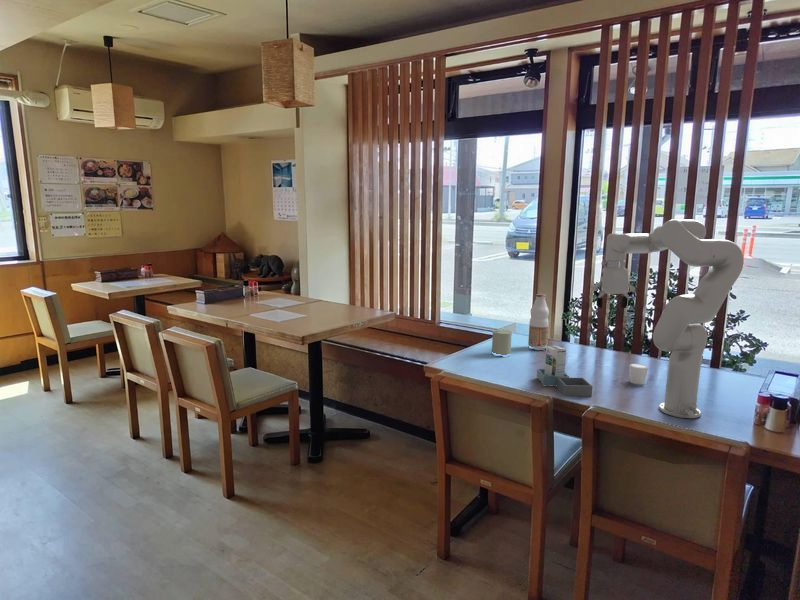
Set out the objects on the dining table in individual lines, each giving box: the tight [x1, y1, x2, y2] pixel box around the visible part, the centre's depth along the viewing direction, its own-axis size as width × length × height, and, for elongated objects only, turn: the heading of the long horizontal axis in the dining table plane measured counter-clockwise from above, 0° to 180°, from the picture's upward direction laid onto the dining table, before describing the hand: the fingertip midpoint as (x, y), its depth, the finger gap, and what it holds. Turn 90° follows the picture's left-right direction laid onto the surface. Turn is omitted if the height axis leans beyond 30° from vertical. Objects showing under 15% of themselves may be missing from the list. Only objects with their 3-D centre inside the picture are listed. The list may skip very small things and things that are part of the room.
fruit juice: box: [527, 293, 550, 348], centre depth 255 cm, size 9×9×28 cm
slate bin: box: [536, 368, 570, 386], centre depth 203 cm, size 10×10×4 cm
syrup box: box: [544, 345, 567, 376], centre depth 202 cm, size 6×6×14 cm
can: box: [491, 329, 513, 355], centre depth 243 cm, size 9×9×12 cm
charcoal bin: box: [556, 377, 593, 397], centre depth 192 cm, size 10×10×4 cm
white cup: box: [628, 363, 649, 386], centre depth 205 cm, size 7×7×7 cm
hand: (611, 307), depth 203 cm, fingers open, 9 cm apart
